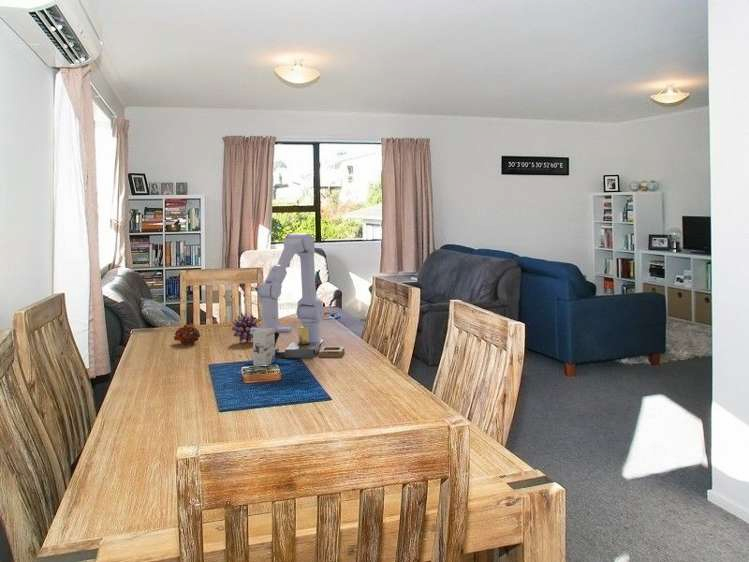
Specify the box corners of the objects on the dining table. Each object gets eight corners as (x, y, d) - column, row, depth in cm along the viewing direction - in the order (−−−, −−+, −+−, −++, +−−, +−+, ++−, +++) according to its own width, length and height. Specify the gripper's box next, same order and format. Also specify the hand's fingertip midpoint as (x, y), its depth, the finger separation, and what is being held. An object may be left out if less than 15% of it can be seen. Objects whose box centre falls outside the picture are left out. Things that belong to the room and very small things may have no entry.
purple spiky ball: (247, 338, 259) (246, 310, 258) (267, 341, 252) (266, 312, 251) (225, 343, 249) (224, 313, 248) (246, 346, 242) (245, 316, 241)
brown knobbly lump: (198, 349, 247) (177, 351, 253) (209, 334, 252) (188, 336, 258) (185, 334, 242) (165, 336, 248) (197, 319, 248) (176, 321, 254)
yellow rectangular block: (300, 351, 231) (299, 326, 230) (309, 351, 230) (308, 325, 229) (298, 353, 227) (297, 327, 226) (307, 353, 227) (307, 327, 226)
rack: (322, 352, 228) (322, 346, 228) (344, 352, 228) (344, 346, 227) (319, 357, 220) (319, 351, 220) (341, 356, 220) (341, 351, 219)
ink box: (262, 360, 216) (261, 327, 215) (276, 361, 215) (275, 327, 214) (253, 366, 208) (251, 332, 207) (267, 367, 207) (266, 332, 206)
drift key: (276, 355, 224) (275, 347, 224) (300, 355, 224) (300, 347, 223) (273, 357, 221) (273, 349, 221) (298, 357, 220) (298, 349, 220)
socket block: (292, 350, 233) (292, 342, 233) (319, 349, 232) (318, 342, 232) (285, 357, 220) (284, 349, 220) (313, 357, 219) (312, 349, 219)
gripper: (247, 318, 218) (248, 356, 219) (287, 317, 217) (289, 355, 218) (252, 314, 225) (254, 351, 226) (292, 314, 224) (293, 351, 225)
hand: (271, 353), depth 223 cm, fingers closed
